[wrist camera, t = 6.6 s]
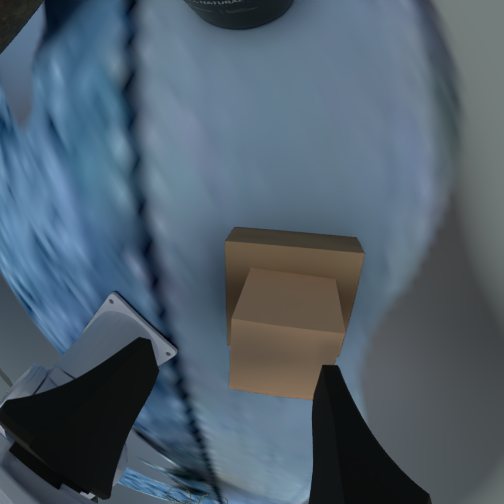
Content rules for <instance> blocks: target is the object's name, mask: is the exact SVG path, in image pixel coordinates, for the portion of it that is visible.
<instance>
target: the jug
mask: <svg viewBox="0 0 504 504" xmlns="http://www.w3.org/2000/svg"><path fill="white" fill-rule="evenodd" d="M43 1H44V0H0V54H1V53H2V52H3V51H4V50H5V48H6V47H7V46H8V45H9V44H10V43H11V41H12V40H13V39H14V38H15V37H16V36H17V34H18V33H19V32H20V31H21V29H22V28H23V27H24V26H25V24H26V23H27V22H28V21H29V19H30V18H31V17H32V15H33V14H34V13H35V12H36V11H37V9H38V8H39V7H40V5H41V4H42V2H43Z"/></svg>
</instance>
